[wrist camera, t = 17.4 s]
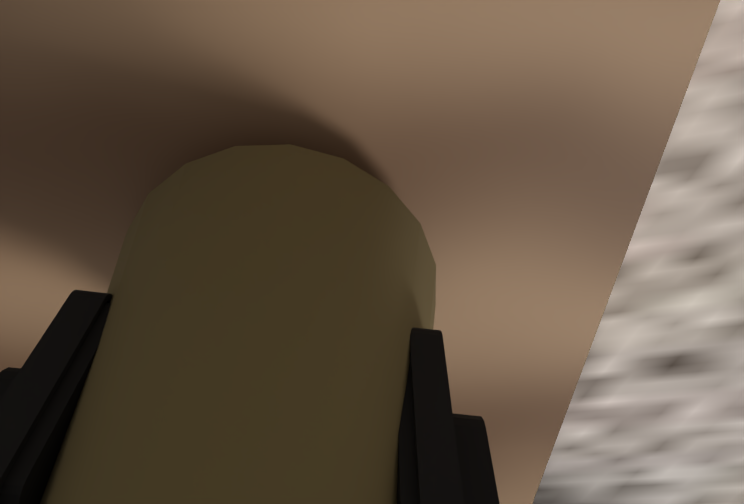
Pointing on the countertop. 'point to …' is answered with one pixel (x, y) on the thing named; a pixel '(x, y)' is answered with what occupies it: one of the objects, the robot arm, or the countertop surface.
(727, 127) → the countertop surface
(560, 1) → the board
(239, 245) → the cork
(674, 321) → the countertop surface
